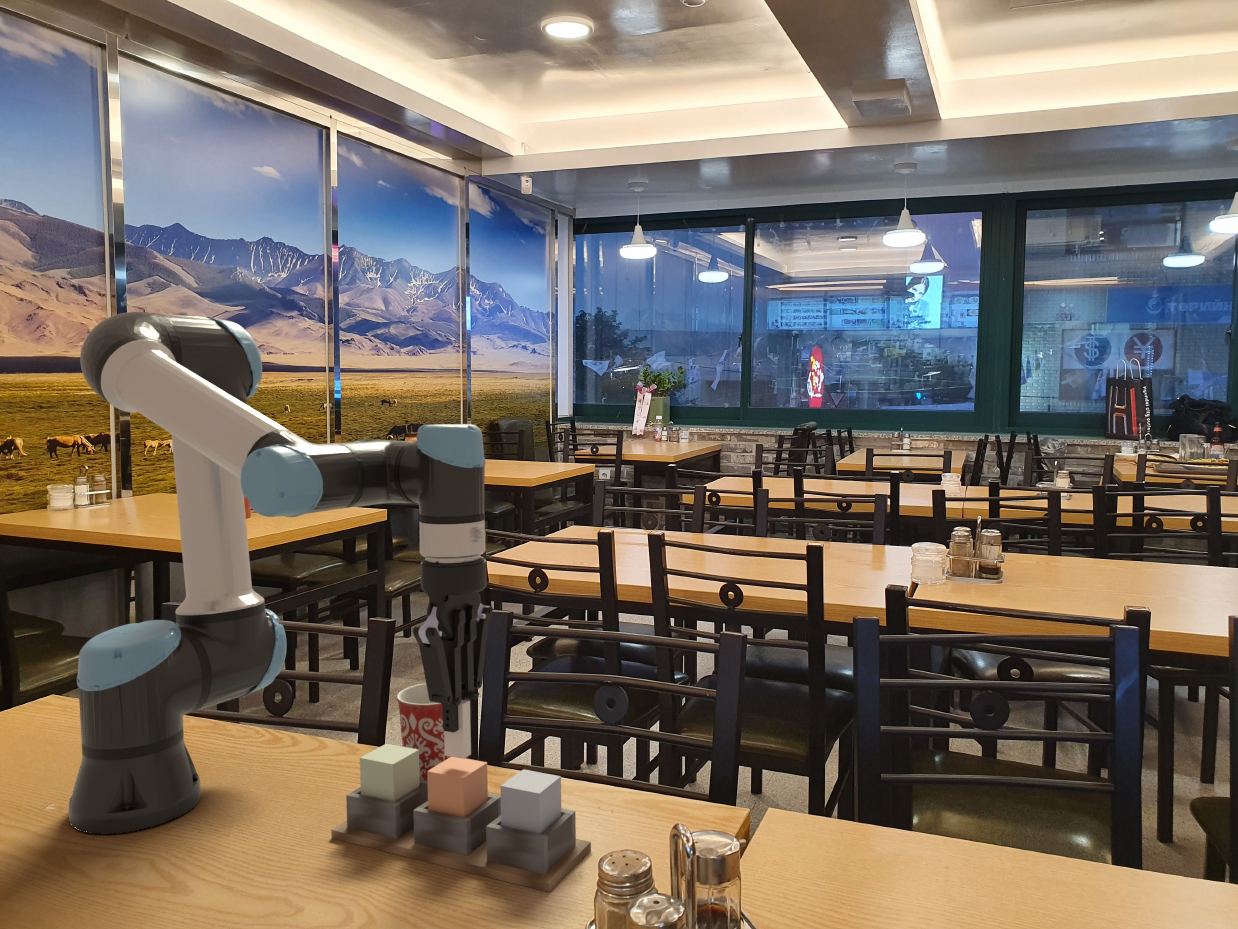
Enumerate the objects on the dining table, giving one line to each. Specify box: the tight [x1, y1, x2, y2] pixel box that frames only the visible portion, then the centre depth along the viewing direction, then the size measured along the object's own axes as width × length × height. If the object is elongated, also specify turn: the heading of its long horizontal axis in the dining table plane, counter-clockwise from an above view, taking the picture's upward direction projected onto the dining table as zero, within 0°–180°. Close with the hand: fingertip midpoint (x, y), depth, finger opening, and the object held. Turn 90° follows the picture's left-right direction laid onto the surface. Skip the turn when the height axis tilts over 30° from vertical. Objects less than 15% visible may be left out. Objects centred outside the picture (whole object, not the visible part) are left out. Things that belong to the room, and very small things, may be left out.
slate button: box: [499, 769, 562, 834], centre depth 103 cm, size 5×5×6 cm
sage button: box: [359, 743, 420, 802], centre depth 112 cm, size 5×5×6 cm
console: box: [330, 779, 592, 893], centre depth 108 cm, size 30×10×5 cm, turn 65°
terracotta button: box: [427, 757, 489, 818], centre depth 107 cm, size 5×5×6 cm
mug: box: [396, 682, 451, 781], centre depth 124 cm, size 13×9×14 cm
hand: (457, 754), depth 107 cm, fingers closed
